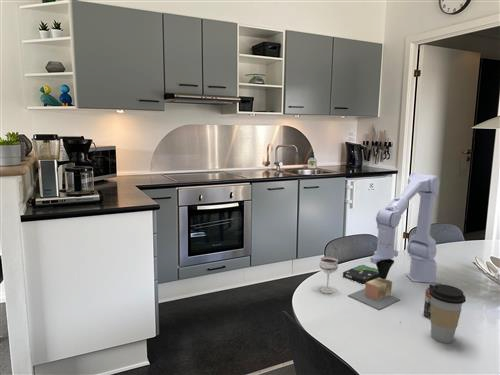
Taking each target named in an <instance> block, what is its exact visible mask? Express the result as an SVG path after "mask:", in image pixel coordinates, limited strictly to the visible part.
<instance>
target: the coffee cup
mask: <svg viewBox="0 0 500 375" xmlns="http://www.w3.org/2000/svg"><path fill="white" fill-rule="evenodd" d="M429 294H430V295H431V319H430V326H431V327H430V328H431V329H430V336H431V338H432V339H434V340H435V341H437V342H440V343H443V344H444V343H445V344H449V343H453V342H454V338H455V335H456V330H457V327H458V325H459V320H460V316H461V314H462V305H463V304H464V303H465V302H466V296H465V295H464V291H463V290H462V289H460V288H458V287H455V286H453V285H449V284H443V283H441V284H438V285H434V286H433V288H432V289H430V292H429Z"/></svg>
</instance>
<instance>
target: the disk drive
mask: <svg viewBox="0 0 500 375" xmlns="http://www.w3.org/2000/svg"><path fill="white" fill-rule="evenodd" d="M344 277H345V279H347V278H348V279H347V280H349V279H350V281H352V280H353V282H355V281H356V283H357V282H358V284H360V283H361V285H363V284H365V285H366V282H368V281H371V280H374V279H376V278H379V273H378V268H375V267H371V266H367V265H365V264H361V265H358V266H355V267H353V268H350V269H348V270H345V271H343V272H342V278H344Z"/></svg>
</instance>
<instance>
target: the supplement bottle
mask: <svg viewBox="0 0 500 375" xmlns="http://www.w3.org/2000/svg"><path fill="white" fill-rule="evenodd" d="M438 284H442V282H438V281H436V282H429V287H427V288H425V297H424V306H423V315H424V316H425V317H426V318H428V319H430V320H431V295H430V294H429V292H430V289H432V288H433V286H434V285H438Z"/></svg>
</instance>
